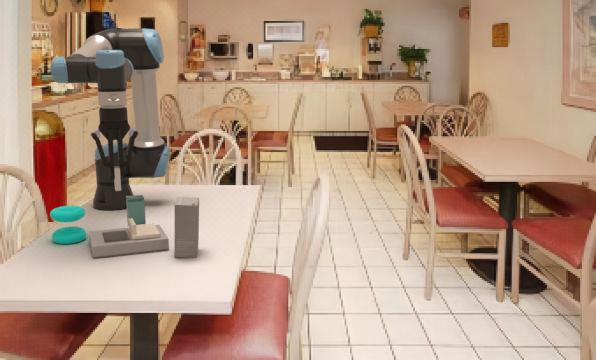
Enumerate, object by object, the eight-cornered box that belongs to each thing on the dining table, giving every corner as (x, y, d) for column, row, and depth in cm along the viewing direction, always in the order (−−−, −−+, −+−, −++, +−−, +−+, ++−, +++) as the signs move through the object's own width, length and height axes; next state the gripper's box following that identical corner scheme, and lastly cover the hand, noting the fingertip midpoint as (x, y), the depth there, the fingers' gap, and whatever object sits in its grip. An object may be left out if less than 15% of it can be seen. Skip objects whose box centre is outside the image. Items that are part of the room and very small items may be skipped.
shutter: (127, 228, 189) (126, 216, 188) (153, 226, 191) (153, 213, 191) (132, 239, 178) (131, 226, 177) (160, 236, 180) (159, 223, 180)
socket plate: (89, 242, 187) (88, 231, 186) (159, 235, 195) (159, 224, 194) (93, 258, 173) (92, 246, 172) (168, 250, 180) (168, 238, 179)
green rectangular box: (128, 232, 197) (125, 196, 195) (144, 231, 199) (142, 194, 197) (129, 237, 193) (127, 199, 190) (146, 235, 195) (144, 198, 192)
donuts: (70, 203, 194) (91, 207, 189) (72, 233, 196) (93, 238, 191) (42, 209, 186) (64, 214, 181) (45, 241, 188) (66, 247, 183)
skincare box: (176, 249, 181) (174, 196, 178) (201, 248, 182) (199, 196, 178) (173, 258, 173) (171, 203, 170) (199, 258, 173) (197, 203, 170)
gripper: (89, 108, 166) (95, 194, 171) (138, 107, 171) (143, 190, 175) (87, 106, 173) (93, 188, 178) (135, 104, 177) (139, 185, 182)
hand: (118, 189), depth 176 cm, fingers closed
